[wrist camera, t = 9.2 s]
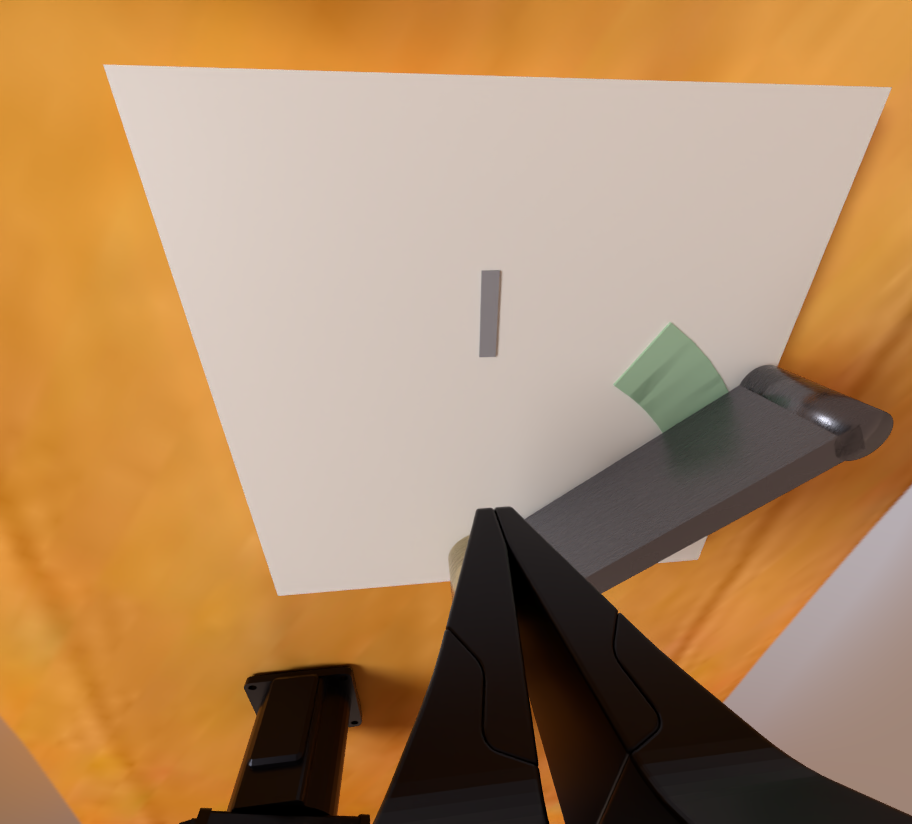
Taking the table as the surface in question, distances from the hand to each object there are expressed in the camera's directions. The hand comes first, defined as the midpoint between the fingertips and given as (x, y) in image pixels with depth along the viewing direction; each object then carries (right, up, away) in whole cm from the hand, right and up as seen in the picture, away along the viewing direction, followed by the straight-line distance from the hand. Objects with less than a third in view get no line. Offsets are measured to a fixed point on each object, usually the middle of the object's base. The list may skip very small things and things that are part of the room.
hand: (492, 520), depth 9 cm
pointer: (+6, -1, +8) cm, 10 cm away
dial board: (+1, +4, +7) cm, 8 cm away
